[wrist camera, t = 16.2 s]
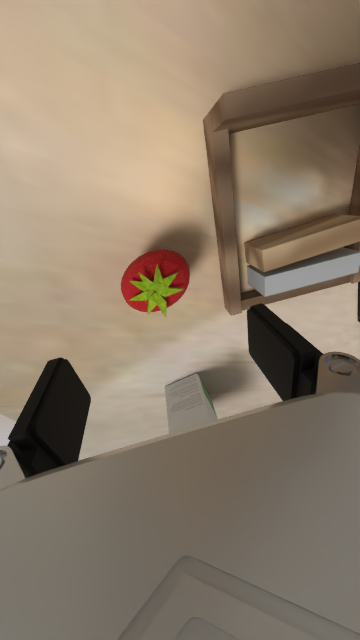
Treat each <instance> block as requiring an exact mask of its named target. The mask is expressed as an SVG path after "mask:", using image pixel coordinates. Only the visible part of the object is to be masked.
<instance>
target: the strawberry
mask: <svg viewBox="0 0 360 640" xmlns="http://www.w3.org/2000/svg"><path fill="white" fill-rule="evenodd" d="M189 277H190V272H189V266H188V264H187V262H186V260H185V259H184V258H183V257H182V256H181V255H180V254H178V253H176V252H174V251H169V250H156V251H151V252H148V253H145V254H144V255H142V256H140V257H138V258H137V259H136V260H134V261H133V262H132V263H131V264H130V265H129V266H128V268H127V269H126V271H125V273H124V275H123V277H122V282H121V291H122V294H123V297H124V299H125V300H126V302H127V303H128V304H129V305H130V306H131V307H132V308H134V309H136V310H139V311H142V312H148V314H149V313H150V312H155V311H160V310H161V311H162V313H163V314H164V316H165V317H166V308H167V307H169V306H171V305H173V304H174V303H175V302H177V301H178V300H179V299H180V298H181V297H182V295H183V294H184V293H185V291H186V289H187V287H188V284H189Z"/></svg>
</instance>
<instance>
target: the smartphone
mask: <svg viewBox="0 0 360 640" xmlns="http://www.w3.org/2000/svg"><path fill="white" fill-rule="evenodd" d="M358 321H359V322H360V282H358Z"/></svg>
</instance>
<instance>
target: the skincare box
mask: <svg viewBox="0 0 360 640" xmlns="http://www.w3.org/2000/svg"><path fill="white" fill-rule="evenodd" d="M165 397H166V407H167V418H168V429H169V434H170V433H174V432H177V431H180V430H184V429H187V428H191V427H194V426H197V425H201V424H204V423H208V422H211V421H215V420H218V419H217V416H216V413H215V409H214V406H213V403H212V401H211V399H210V397H209V395H208V393H207V391H206V389H205V387H204V385H203V383H202V381H201V379H200V377H199V375H198V373H195V374H193V375H191V376H188V377H186V378H184V379H181V380H179V381H177V382H174V383H172V384H169V385H167V386H165Z"/></svg>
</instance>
